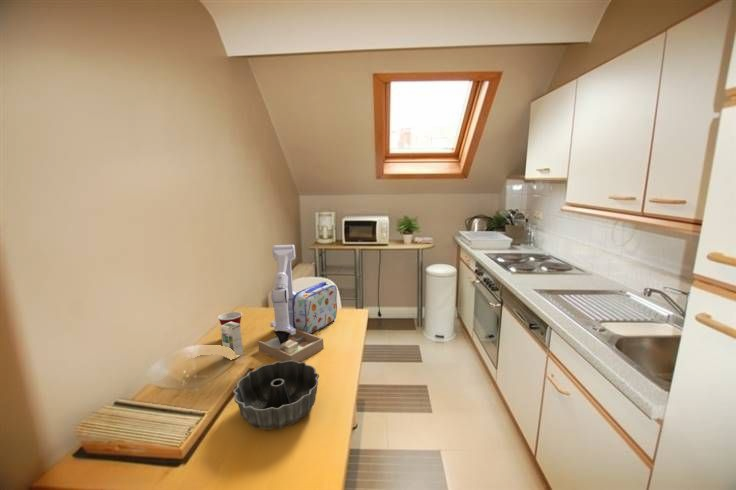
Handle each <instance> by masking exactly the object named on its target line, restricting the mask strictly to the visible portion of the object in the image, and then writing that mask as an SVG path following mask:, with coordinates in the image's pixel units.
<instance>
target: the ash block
mask: <svg viewBox="0 0 736 490" xmlns="http://www.w3.org/2000/svg"><path fill="white" fill-rule="evenodd" d="M281 350H282V351H284V352H286V353H288V354H290V353H292V352H294V351H296V350H298V343H297V342H295V341H292V340H288V341H286V342H284V343H282V344H281Z"/></svg>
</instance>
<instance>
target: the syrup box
mask: <svg viewBox="0 0 736 490" xmlns="http://www.w3.org/2000/svg"><path fill="white" fill-rule="evenodd" d="M220 332H221V341H222V347H223V346H225V347H229V348H231V349H232V350H233V351H234V352H235V354H236V355H241V356H243V355H244V351H243V341H242V340H243V338H242V330H241V323H240V324H238V323H235V322H228V323H226V324H224V325H222V326H220ZM242 354H243V355H242Z"/></svg>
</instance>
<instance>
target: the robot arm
mask: <svg viewBox="0 0 736 490" xmlns="http://www.w3.org/2000/svg"><path fill="white" fill-rule="evenodd" d="M271 252H272V257H273V258H274V261H276V263H277V264H276V265H277V273H276V274H275V275H274V279H273V280H274V281H273V290H271V293H270V294H271V296H270V297H271V303H272V307H273V313H274V321H270V322H269V325H270V327H271V328H273V331H274V334H275V336H276V337H278V339H279V341H280V344H282V343H284V342H286V341H288V338H289V335H290V334H291V335H294V334H296V329H294V327H293V309H292V300H293V297H294V295H295V294H296V293H297V292H296V291H294V285H293V283H294V282H293V272H292V261H293V260H295V259H296V247H295V244H281V245H280V244H279V245H276V244H274V245H273V246H272V251H271Z"/></svg>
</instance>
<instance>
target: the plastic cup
mask: <svg viewBox="0 0 736 490" xmlns="http://www.w3.org/2000/svg"><path fill="white" fill-rule="evenodd" d="M242 316H243V312H239V311H230V312H225V313H222V314H220V315H218V316H217V319H218V321H219V323H220V325H221V326H222V325H224V324H226V323H228V322H235V323H238V324H240V325H241V320H242ZM221 326H220V327H221Z"/></svg>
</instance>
